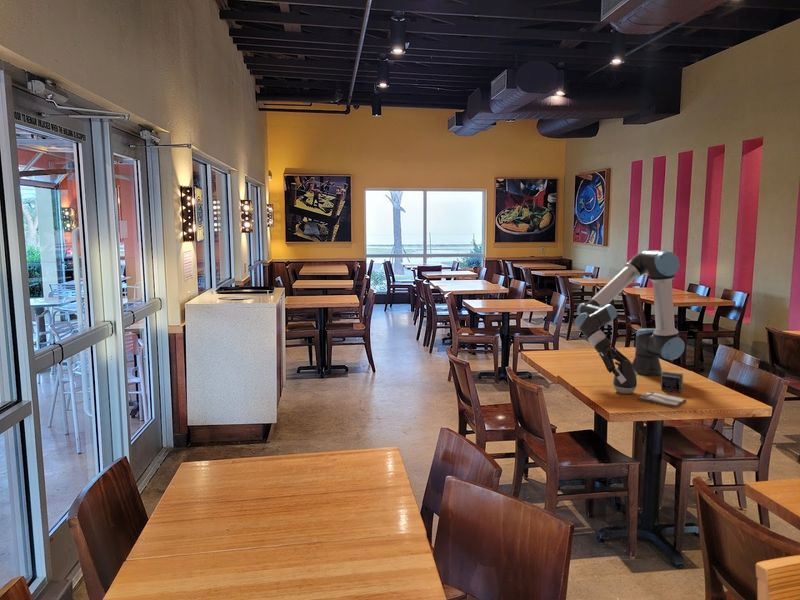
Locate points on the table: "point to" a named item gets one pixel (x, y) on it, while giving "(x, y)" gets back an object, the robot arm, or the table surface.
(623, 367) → the dark grey egg shape
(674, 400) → the chart board
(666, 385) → the electrical switch
